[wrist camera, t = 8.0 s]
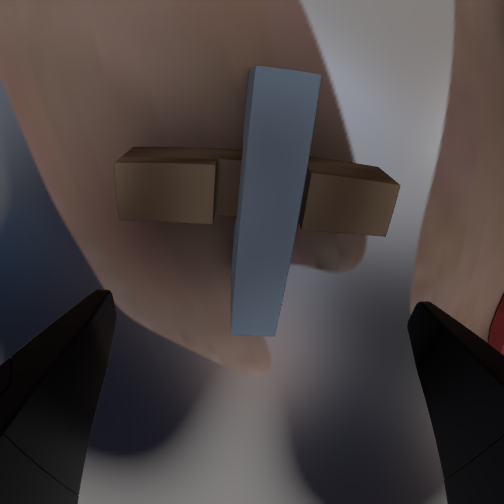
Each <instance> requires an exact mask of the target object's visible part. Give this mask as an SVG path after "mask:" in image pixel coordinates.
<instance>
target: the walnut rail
mask: <svg viewBox="0 0 504 504" xmlns="http://www.w3.org/2000/svg"><path fill="white" fill-rule="evenodd" d="M242 152H243V151H239V150H223V149H203V148H171V147H133V148H131V149H130V150H129V151H128V152H127V153H125V154H124V155H123V156H122V157H121V158H119V159H118V160H117V161H116V162H115V163H114V165H115V181H116V194H117V205H118V215H119V220H135V221H159V222H180V223H199V224H213V218H214V215H217V216H234V217H237V207H238V195H239V184H240V173H241V162H242ZM399 189H400V185H399V184H398V183H397V182H396V181H395V180H393V179H392V178H391V177H390V176H389V175H387V174H386V173H385V172H384V171H382V170H381V169H380V168H379V167H374V166H368V165H362V164H356V163H349V162H342V161H335V160H328V159H320V158H312V157H309V160H308V166H307V172H306V178H305V184H304V189H303V195H302V201H301V206H300V212H299V218H298V222H299V225H300V227H301V230H310V231H323V232H336V233H349V234H361V235H374V236H384V237H385V236H386V234H387V231H388V227H389V224H390V221H391V217H392V214H393V210H394V207H395V204H396V200H397V196H398V193H399Z"/></svg>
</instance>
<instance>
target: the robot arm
mask: <svg viewBox="0 0 504 504" xmlns="http://www.w3.org/2000/svg"><path fill="white" fill-rule="evenodd" d="M116 318H117V317H116V309H115V305H114V300H113V296H112V293H111V291H109V290H101V289H100V290H99V289H98V290H95V291H94V292H92V293H91V294H90V295H88V296H87V297H86V298H85V299H83V300H82V301H81V302H79V303H78V304H77V305H75V306H74V307H73V308H71V309H70V310H69V311H68V312H66V313H65V314H63V315H62V316H61V317H60V318H58V319H57V320H56V321H55V322H53V323H52V324H51V325H49V326H48V327H47V328H46V329H44V330H43V331H42V332H41V333H39V334H38V335H37V336H36V337H34V338H33V339H32V340H31V341H29V342H28V343H27V344H26V345H24V346H23V347H22V348H21V349H20V350H18V351H17V352H16V353H15V354H14V355H13V356H12V357H11V358H9V359H7V360H6V361H5V362H4V363H3V364H2V365H0V504H78V495H79V490H80V484H81V478H82V473H83V467H84V463H85V458H86V452H87V448H88V443H89V438H90V434H91V430H92V425H93V421H94V417H95V413H96V409H97V405H98V401H99V397H100V393H101V390H102V386H103V382H104V379H105V375H106V371H107V368H108V363H109V357H110V351H111V346H112V340H113V334H114V329H115V324H116ZM407 326H408V332H409V337H410V341H411V345H412V350H413V355H414V360H415V364H416V369H417V372H418V376H419V379H420V382H421V386H422V389H423V393H424V396H425V400H426V403H427V407H428V411H429V415H430V419H431V423H432V427H433V431H434V435H435V439H436V444H437V448H438V453H439V457H440V462H441V467H442V472H443V477H444V479H445V480H444V484H445V490H446V496H447V502H448V504H504V355H503V354H501V353H500V352H499V351H497V350H496V349H495V348H493V347H492V346H491V345H489V344H488V343H487V342H485V341H484V340H483V339H481V338H480V337H479V336H477V335H476V334H475V333H473V332H472V331H471V330H469V329H468V328H466V327H465V326H464V325H462V324H461V323H459V322H458V321H457V320H455V319H454V318H452V317H451V316H450V315H448V314H447V313H445V312H444V311H443V310H441V309H440V308H438V307H437V306H435V305H434V304H432V303H431V302H418V303H417V304H416V306H415V308H414V310H413V312H412V314H411V316H410V318H409V321H408V325H407Z"/></svg>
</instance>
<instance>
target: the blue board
mask: <svg viewBox="0 0 504 504" xmlns="http://www.w3.org/2000/svg"><path fill="white" fill-rule="evenodd" d="M320 80H321V75H320V74H315V73H309V72H303V71H296V70H289V69H282V68H274V67H265V66H254V67H251V68H249V76H248V86H247V96H246V106H245V116H244V126H243V136H242V139H243V152H242V162H241V173H240V184H239V195H238V207H237V217H235V227H234V239H233V252H232V265H231V335H243V336H275V333H276V328H277V324H278V319H279V314H280V310H281V305H282V300H283V295H284V290H285V285H286V280H287V275H288V270H289V265H290V260H291V255H292V250H293V244H294V239H295V234H296V228H297V223H298V218H299V212H300V206H301V201H302V195H303V189H304V184H305V178H306V172H307V166H308V160H309V154H310V147H311V141H312V135H313V128H314V122H315V115H316V108H317V102H318V95H319V88H320Z"/></svg>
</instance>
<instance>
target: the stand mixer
mask: <svg viewBox="0 0 504 504" xmlns="http://www.w3.org/2000/svg"><path fill="white" fill-rule="evenodd" d="M488 341H489V345H491V346H492V347H493V348H495V349H496V350H497V351H499V352H500V353H501V354H503V355H504V297H503V299H502V301H501V303H500V305H499V307H498V310H497V312H496V314H495V317H494V320H493V323H492V325H491V329H490V334H489V340H488Z"/></svg>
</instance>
